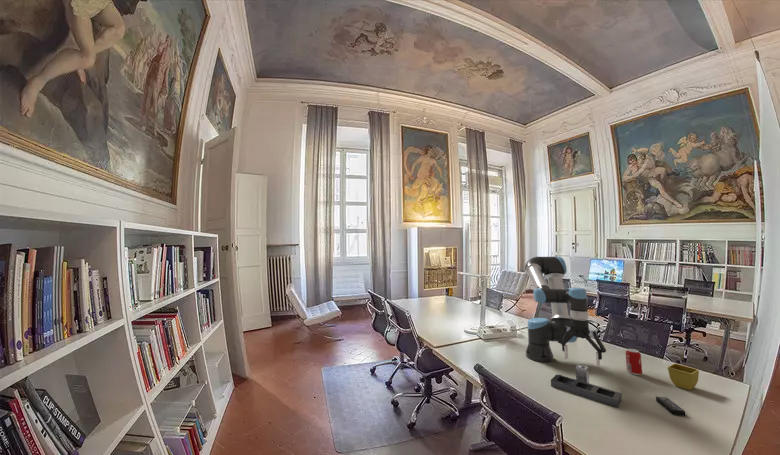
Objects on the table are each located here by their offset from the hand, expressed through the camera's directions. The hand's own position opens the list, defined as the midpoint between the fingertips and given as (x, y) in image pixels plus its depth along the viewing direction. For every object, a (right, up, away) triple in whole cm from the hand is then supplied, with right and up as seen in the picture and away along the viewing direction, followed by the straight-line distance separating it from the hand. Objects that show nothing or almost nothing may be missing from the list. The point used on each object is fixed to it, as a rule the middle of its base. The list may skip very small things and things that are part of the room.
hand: (581, 362), depth 141 cm
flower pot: (+46, -10, -6) cm, 47 cm away
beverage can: (+35, -11, +10) cm, 38 cm away
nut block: (0, -11, 0) cm, 11 cm away
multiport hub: (+22, -9, -22) cm, 33 cm away
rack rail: (-5, -10, -9) cm, 15 cm away
